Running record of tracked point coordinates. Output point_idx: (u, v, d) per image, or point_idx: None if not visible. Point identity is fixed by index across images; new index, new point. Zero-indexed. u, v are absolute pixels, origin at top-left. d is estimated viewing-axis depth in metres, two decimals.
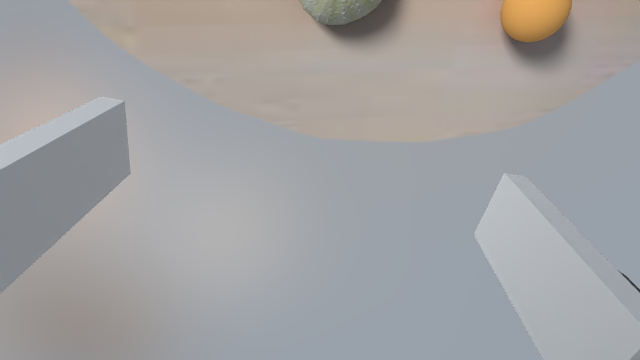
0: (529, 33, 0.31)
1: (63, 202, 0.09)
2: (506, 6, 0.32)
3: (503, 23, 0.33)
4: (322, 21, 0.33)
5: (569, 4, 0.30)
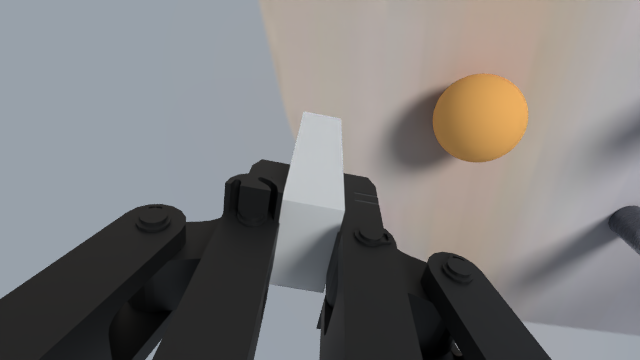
0: (460, 115, 0.21)
1: None
2: (494, 76, 0.21)
3: (466, 79, 0.22)
4: None
5: (491, 158, 0.22)
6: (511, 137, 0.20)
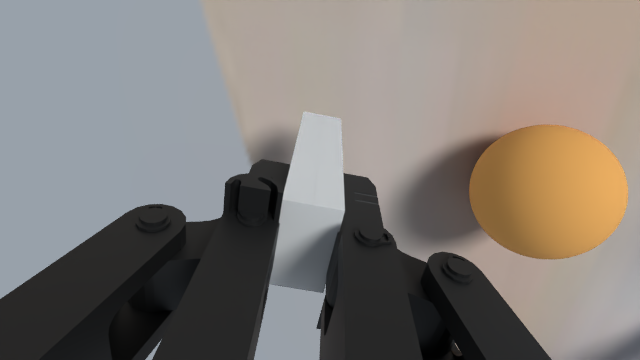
0: (523, 197, 0.13)
1: None
2: (573, 133, 0.13)
3: (528, 135, 0.14)
4: None
5: (566, 257, 0.14)
6: (605, 233, 0.13)
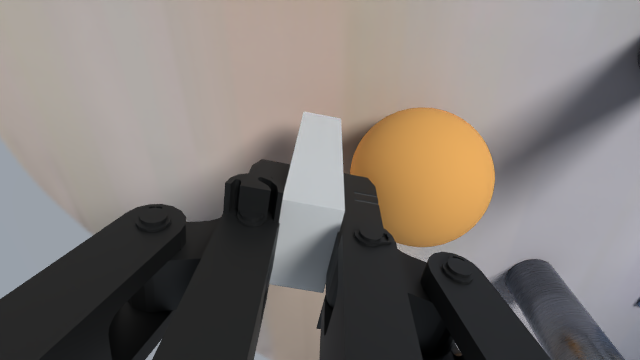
0: None
1: None
2: (453, 115, 0.13)
3: (476, 144, 0.12)
4: None
5: None
6: None
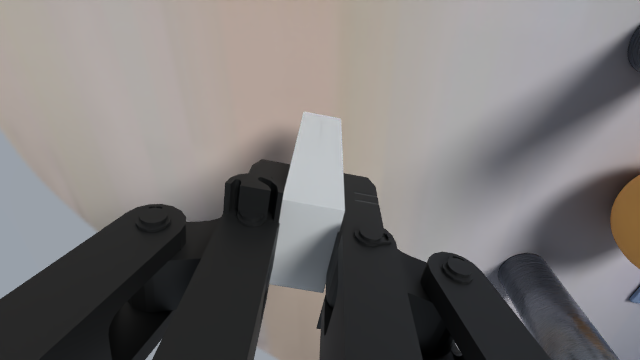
0: None
1: None
2: None
3: None
4: None
5: None
6: None
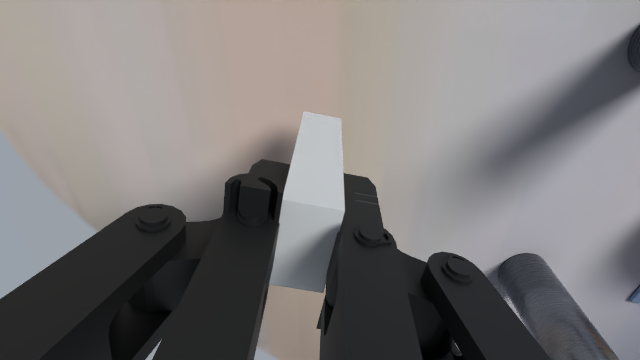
0: None
1: None
2: None
3: None
4: None
5: None
6: None
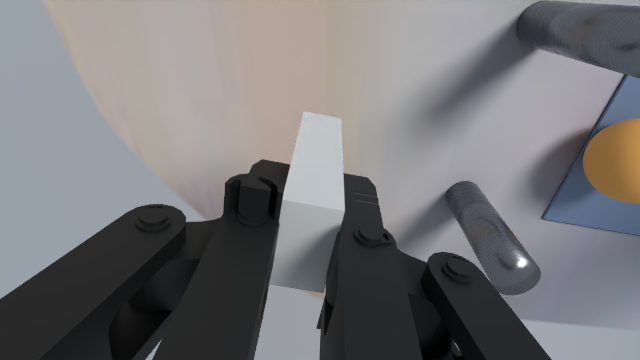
0: None
1: None
2: None
3: None
4: None
5: None
6: None
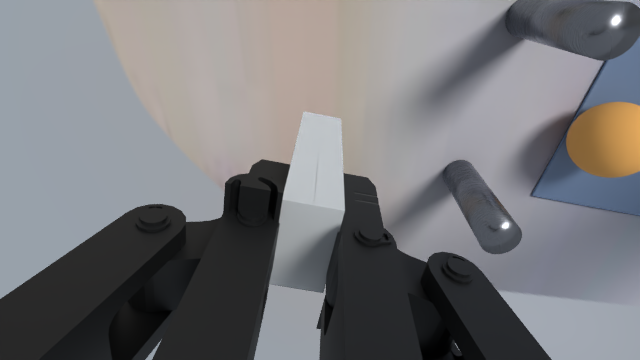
0: None
1: None
2: None
3: None
4: None
5: None
6: None
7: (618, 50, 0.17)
